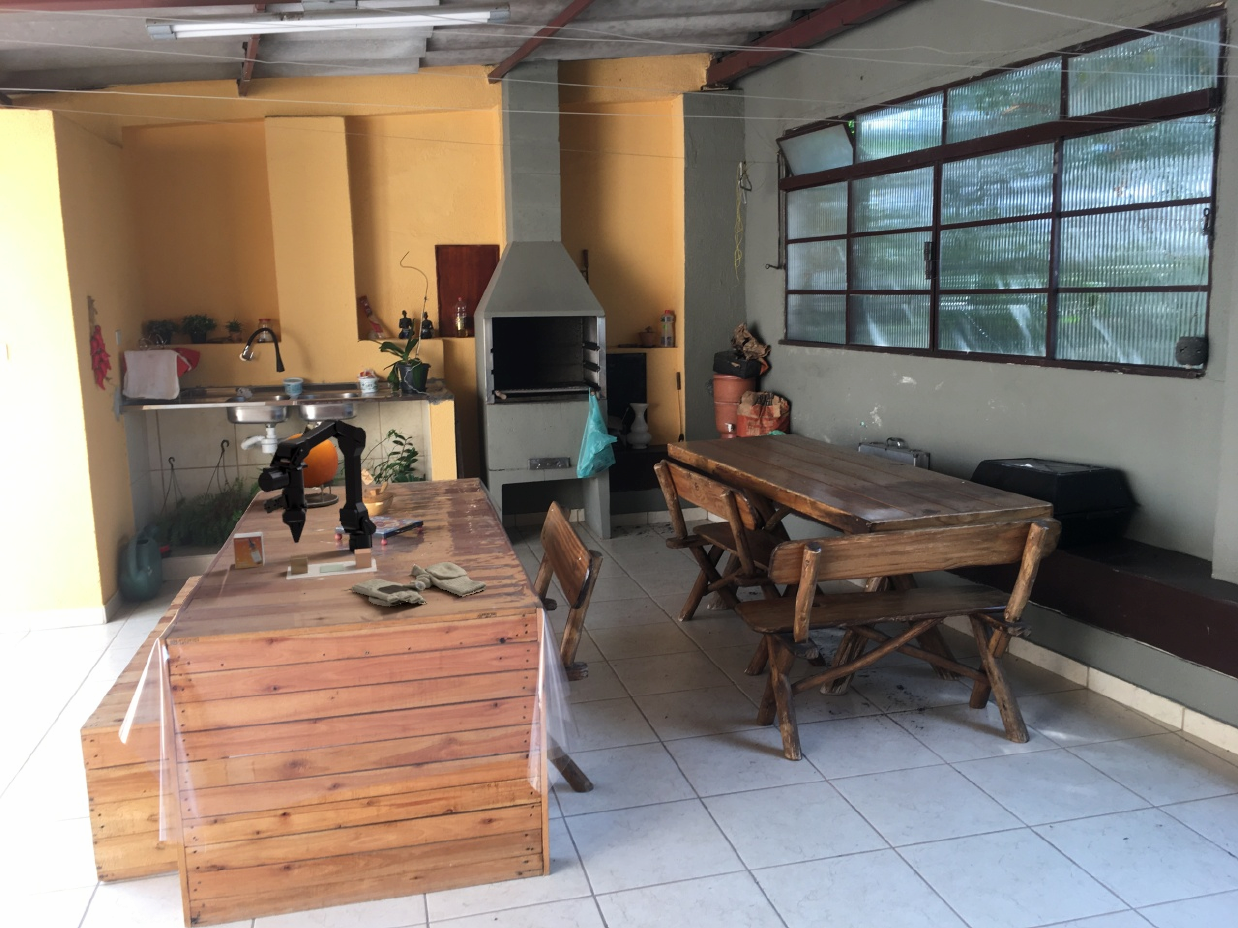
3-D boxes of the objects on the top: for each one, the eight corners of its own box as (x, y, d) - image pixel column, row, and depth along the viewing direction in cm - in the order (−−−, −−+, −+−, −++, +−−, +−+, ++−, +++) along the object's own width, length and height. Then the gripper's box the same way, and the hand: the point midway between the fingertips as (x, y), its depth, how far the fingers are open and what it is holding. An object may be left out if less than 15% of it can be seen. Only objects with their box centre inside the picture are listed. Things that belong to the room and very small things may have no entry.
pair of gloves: (388, 616, 263) (386, 596, 262) (349, 591, 284) (348, 573, 283) (491, 592, 281) (490, 574, 280) (448, 571, 301) (447, 553, 300)
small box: (235, 572, 302) (232, 538, 299) (237, 567, 307) (234, 533, 305) (264, 570, 304) (261, 535, 302) (265, 564, 309) (262, 530, 307)
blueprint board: (375, 562, 309) (375, 558, 309) (377, 575, 297) (376, 570, 296) (288, 570, 303) (288, 565, 302) (286, 583, 290) (286, 578, 290)
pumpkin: (274, 500, 393) (268, 423, 388) (333, 493, 404) (328, 417, 398) (285, 512, 374) (278, 431, 368) (347, 504, 385) (341, 425, 379)
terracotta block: (355, 564, 303) (354, 549, 302) (371, 563, 304) (370, 548, 304) (356, 568, 299) (354, 553, 298) (371, 567, 300) (370, 552, 299)
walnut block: (292, 570, 299) (290, 555, 298) (308, 568, 300) (307, 553, 299) (291, 574, 294) (290, 559, 294) (307, 573, 296) (306, 558, 295)
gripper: (265, 481, 299) (269, 533, 302) (261, 494, 281) (265, 549, 284) (305, 478, 302) (309, 530, 305) (303, 491, 284) (307, 545, 287)
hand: (297, 538), depth 295 cm, fingers open, 9 cm apart
